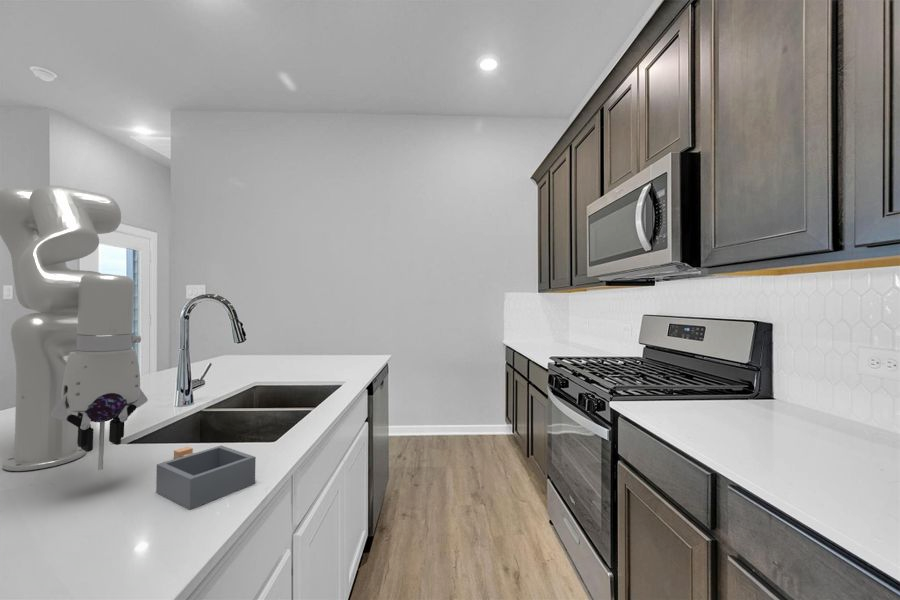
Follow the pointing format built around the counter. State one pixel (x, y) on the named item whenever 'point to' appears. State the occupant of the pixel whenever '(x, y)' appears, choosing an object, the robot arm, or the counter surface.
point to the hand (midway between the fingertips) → (101, 445)
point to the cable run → (183, 452)
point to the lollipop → (105, 415)
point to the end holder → (205, 476)
